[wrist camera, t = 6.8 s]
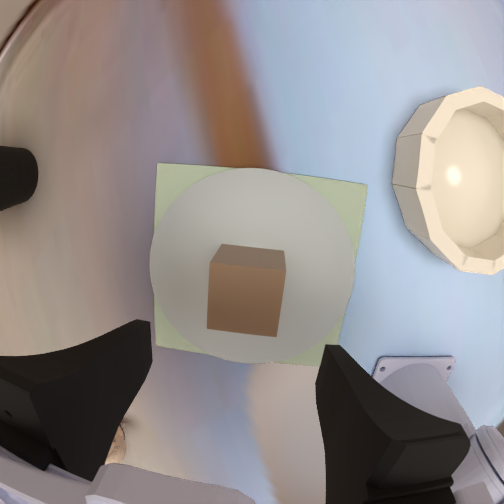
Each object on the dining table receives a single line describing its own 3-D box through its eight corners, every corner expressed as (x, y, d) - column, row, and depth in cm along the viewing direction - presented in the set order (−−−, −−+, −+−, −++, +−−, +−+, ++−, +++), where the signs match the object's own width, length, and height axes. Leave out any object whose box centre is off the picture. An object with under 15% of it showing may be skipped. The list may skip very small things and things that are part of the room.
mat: (330, 363, 24) (330, 367, 23) (157, 342, 24) (155, 345, 24) (365, 184, 20) (367, 185, 19) (160, 163, 20) (157, 163, 20)
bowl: (500, 263, 20) (528, 279, 17) (381, 246, 21) (402, 263, 17) (519, 124, 17) (549, 123, 13) (400, 78, 18) (423, 63, 14)
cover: (330, 364, 23) (340, 405, 19) (155, 343, 24) (133, 378, 19) (367, 182, 19) (393, 188, 15) (157, 161, 20) (125, 161, 15)
